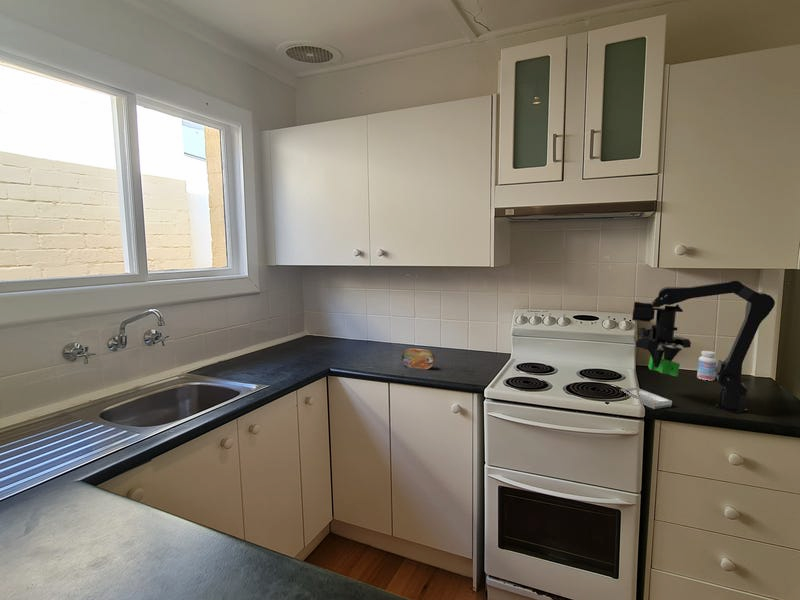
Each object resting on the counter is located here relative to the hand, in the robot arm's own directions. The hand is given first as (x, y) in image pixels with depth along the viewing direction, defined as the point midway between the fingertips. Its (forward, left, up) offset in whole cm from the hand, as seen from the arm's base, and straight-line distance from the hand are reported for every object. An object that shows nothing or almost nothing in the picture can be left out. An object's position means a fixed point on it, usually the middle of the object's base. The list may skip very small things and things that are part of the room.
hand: (660, 367), depth 155 cm
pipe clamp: (0, 0, -2) cm, 2 cm away
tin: (+62, +68, -12) cm, 92 cm away
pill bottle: (+12, -38, -12) cm, 42 cm away
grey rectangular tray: (0, +7, -11) cm, 13 cm away
